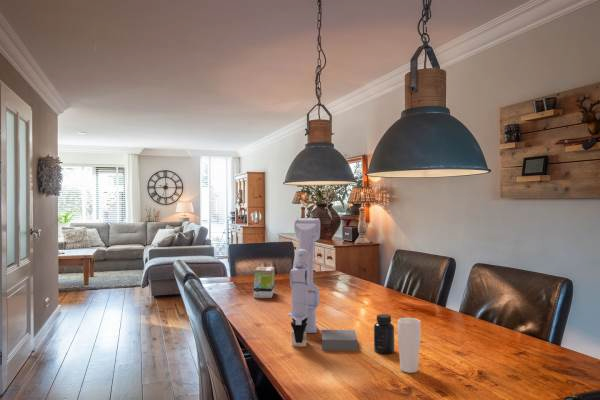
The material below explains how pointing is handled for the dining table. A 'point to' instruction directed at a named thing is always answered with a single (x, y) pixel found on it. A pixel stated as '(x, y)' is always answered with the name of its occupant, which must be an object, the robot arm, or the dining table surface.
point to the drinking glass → (409, 343)
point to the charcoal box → (339, 340)
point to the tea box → (264, 282)
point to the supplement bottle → (384, 335)
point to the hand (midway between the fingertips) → (299, 340)
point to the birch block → (302, 340)
